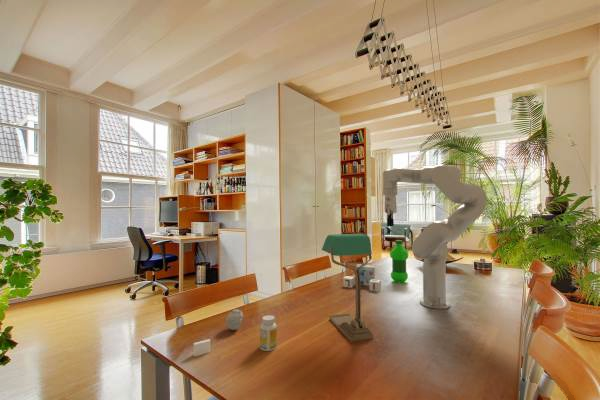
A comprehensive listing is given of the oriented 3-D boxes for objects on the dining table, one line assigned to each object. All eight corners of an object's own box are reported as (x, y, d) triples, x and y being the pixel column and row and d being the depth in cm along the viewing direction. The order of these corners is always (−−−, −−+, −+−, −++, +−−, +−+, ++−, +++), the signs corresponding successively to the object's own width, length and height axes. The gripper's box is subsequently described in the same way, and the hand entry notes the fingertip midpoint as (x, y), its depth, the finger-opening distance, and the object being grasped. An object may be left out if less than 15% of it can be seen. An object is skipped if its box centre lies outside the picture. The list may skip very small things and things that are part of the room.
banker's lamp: (340, 343, 94) (340, 238, 94) (319, 318, 114) (319, 232, 115) (382, 337, 98) (381, 236, 99) (355, 314, 118) (354, 231, 119)
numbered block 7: (351, 287, 157) (351, 279, 157) (343, 286, 160) (343, 277, 160) (354, 285, 162) (354, 277, 162) (346, 284, 164) (346, 276, 164)
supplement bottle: (259, 352, 88) (259, 321, 88) (260, 343, 93) (260, 314, 93) (276, 351, 88) (276, 320, 89) (276, 343, 94) (276, 314, 94)
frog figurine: (246, 327, 106) (246, 308, 106) (233, 334, 100) (233, 315, 100) (234, 324, 109) (234, 306, 109) (221, 330, 103) (221, 311, 103)
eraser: (193, 355, 86) (193, 343, 86) (209, 350, 89) (209, 338, 89) (194, 356, 85) (194, 344, 85) (210, 352, 88) (210, 340, 88)
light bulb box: (355, 284, 164) (355, 266, 164) (356, 281, 170) (356, 263, 170) (374, 286, 161) (374, 267, 161) (374, 283, 167) (374, 265, 167)
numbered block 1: (378, 291, 150) (378, 282, 150) (369, 290, 152) (369, 281, 153) (380, 289, 155) (380, 279, 155) (371, 288, 157) (371, 278, 157)
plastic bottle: (396, 278, 177) (395, 239, 177) (411, 282, 169) (411, 240, 169) (387, 281, 170) (386, 240, 171) (402, 285, 162) (402, 242, 163)
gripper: (394, 191, 144) (394, 227, 144) (399, 192, 158) (399, 225, 157) (379, 192, 148) (380, 226, 148) (385, 193, 161) (386, 225, 161)
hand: (390, 226), depth 152 cm, fingers closed
